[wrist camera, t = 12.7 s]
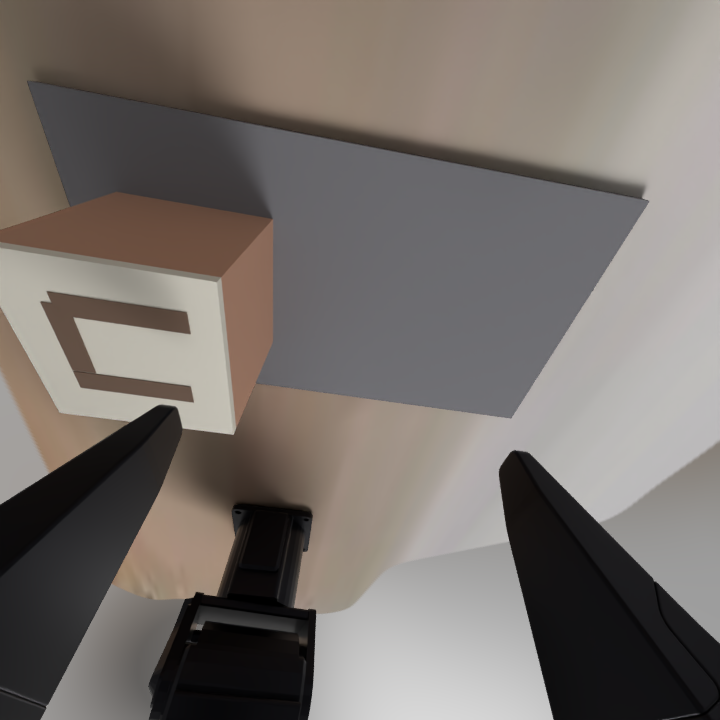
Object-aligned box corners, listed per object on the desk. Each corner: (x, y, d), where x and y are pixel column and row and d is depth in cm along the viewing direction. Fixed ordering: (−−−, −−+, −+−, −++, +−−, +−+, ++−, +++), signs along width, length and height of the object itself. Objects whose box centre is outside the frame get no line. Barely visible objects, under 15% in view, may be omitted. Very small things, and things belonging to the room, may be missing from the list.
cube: (59, 413, 12) (150, 323, 16) (233, 435, 12) (272, 341, 17) (-38, 242, 8) (116, 191, 13) (216, 282, 8) (273, 219, 13)
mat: (508, 413, 20) (511, 418, 20) (129, 360, 18) (125, 365, 18) (642, 198, 13) (649, 201, 12) (36, 81, 11) (26, 80, 11)
